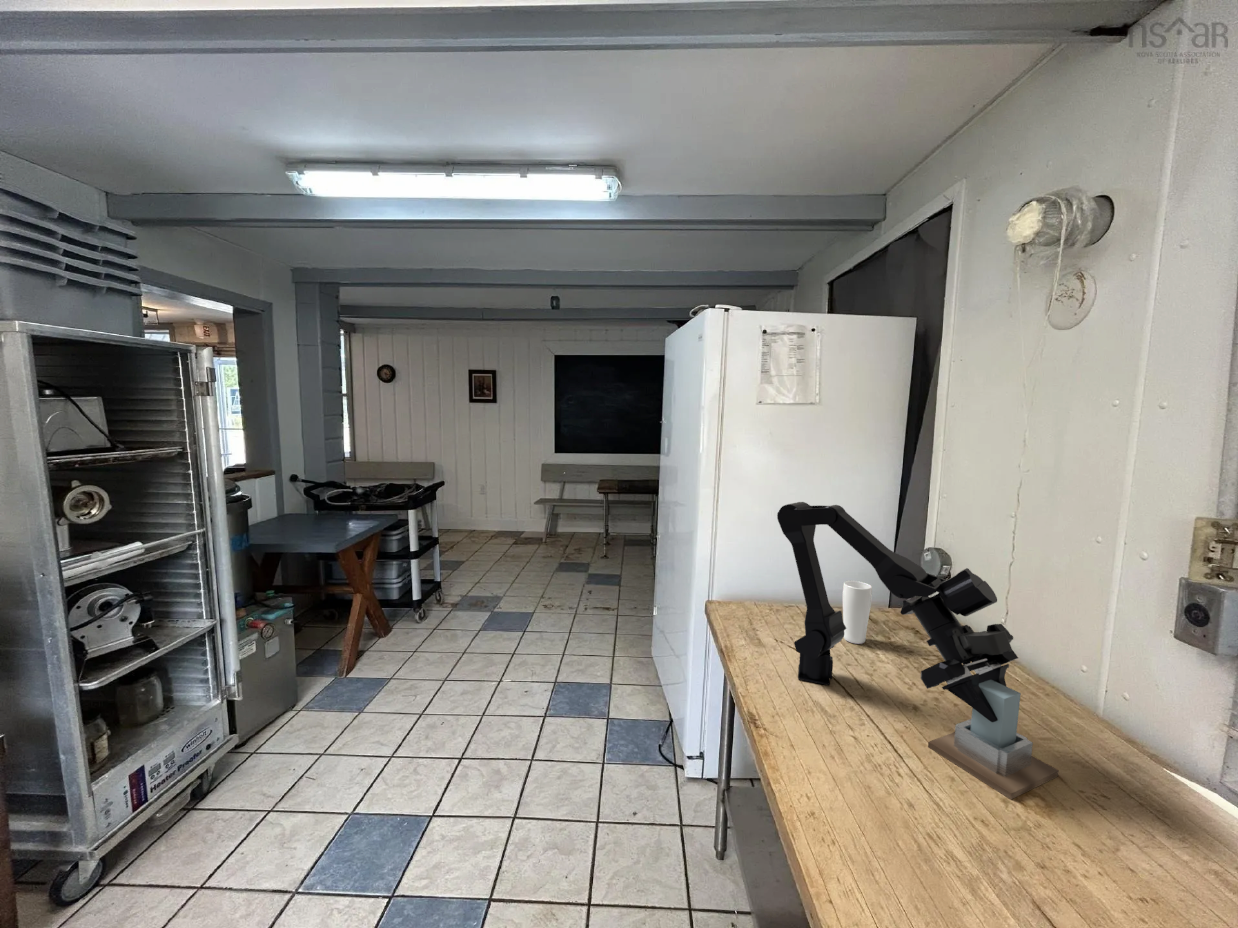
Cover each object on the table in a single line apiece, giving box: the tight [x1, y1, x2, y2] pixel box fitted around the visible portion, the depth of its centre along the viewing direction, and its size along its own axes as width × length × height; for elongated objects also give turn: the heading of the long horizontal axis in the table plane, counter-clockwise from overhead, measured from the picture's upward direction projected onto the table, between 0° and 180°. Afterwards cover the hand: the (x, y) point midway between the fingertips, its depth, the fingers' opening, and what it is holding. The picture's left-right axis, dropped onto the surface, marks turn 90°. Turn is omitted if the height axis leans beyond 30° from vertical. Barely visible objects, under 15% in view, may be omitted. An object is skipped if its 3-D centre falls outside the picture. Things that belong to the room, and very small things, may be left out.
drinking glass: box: [842, 580, 873, 645], centre depth 128 cm, size 7×7×15 cm
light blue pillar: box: [970, 680, 1022, 749], centre depth 83 cm, size 4×4×11 cm
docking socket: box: [927, 718, 1060, 800], centre depth 83 cm, size 13×13×5 cm
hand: (1003, 718), depth 81 cm, fingers closed on light blue pillar, 4 cm apart
